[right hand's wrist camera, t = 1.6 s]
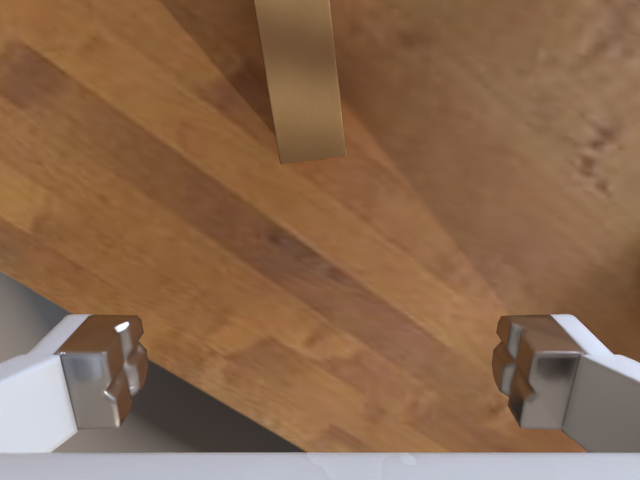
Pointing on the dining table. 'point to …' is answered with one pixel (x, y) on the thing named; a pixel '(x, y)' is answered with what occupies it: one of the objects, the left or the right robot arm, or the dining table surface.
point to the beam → (301, 78)
